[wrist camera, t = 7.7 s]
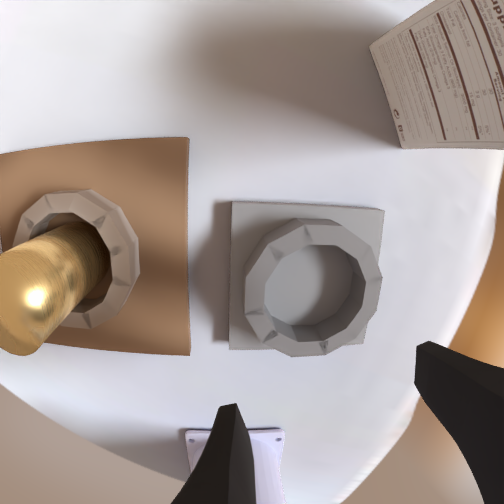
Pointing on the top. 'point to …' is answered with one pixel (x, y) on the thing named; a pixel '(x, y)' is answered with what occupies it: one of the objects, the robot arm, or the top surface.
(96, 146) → the hub board
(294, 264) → the spline stand
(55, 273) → the brass peg
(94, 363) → the top surface
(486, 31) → the supplement box
